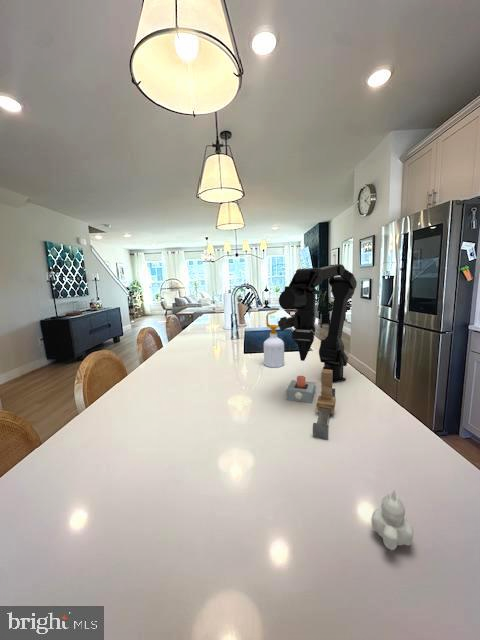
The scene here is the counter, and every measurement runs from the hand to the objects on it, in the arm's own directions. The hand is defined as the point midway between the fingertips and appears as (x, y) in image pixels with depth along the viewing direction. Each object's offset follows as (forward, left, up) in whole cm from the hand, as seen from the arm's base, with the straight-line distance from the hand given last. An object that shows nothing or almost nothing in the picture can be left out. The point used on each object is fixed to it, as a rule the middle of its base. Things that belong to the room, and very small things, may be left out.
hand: (303, 357), depth 86 cm
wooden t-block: (-1, +11, -12) cm, 17 cm away
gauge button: (0, -1, -11) cm, 11 cm away
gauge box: (0, -1, -14) cm, 14 cm away
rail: (0, +12, -14) cm, 18 cm away
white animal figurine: (+12, +47, -14) cm, 50 cm away
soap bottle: (-4, -33, -14) cm, 36 cm away
